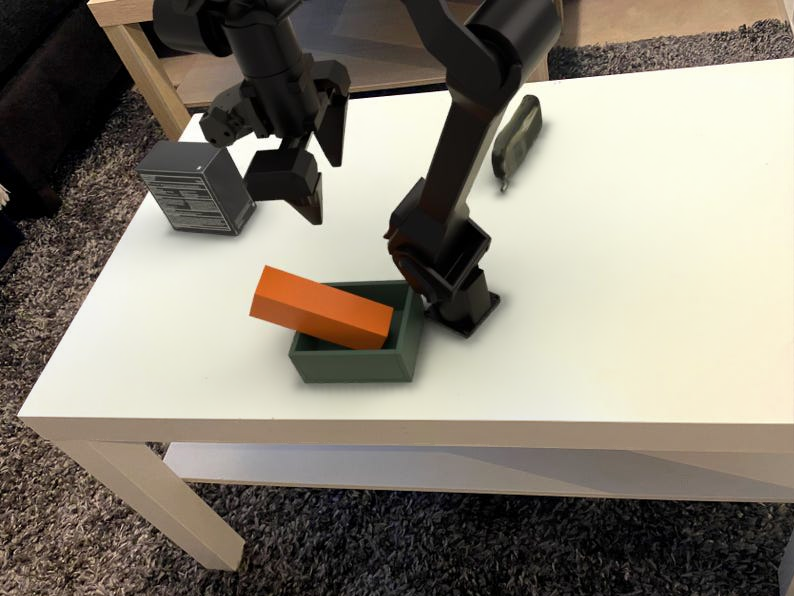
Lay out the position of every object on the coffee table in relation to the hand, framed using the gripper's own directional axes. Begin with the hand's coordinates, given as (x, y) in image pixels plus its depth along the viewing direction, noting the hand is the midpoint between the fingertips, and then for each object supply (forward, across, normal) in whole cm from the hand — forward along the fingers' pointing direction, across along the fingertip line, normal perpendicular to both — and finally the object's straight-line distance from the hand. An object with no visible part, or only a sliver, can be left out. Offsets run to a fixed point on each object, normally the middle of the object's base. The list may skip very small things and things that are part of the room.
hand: (327, 194), depth 78 cm
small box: (+13, -12, -24) cm, 30 cm away
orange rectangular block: (+11, +10, +5) cm, 16 cm away
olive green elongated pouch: (+13, -21, +17) cm, 30 cm away
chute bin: (+13, +10, +3) cm, 17 cm away
